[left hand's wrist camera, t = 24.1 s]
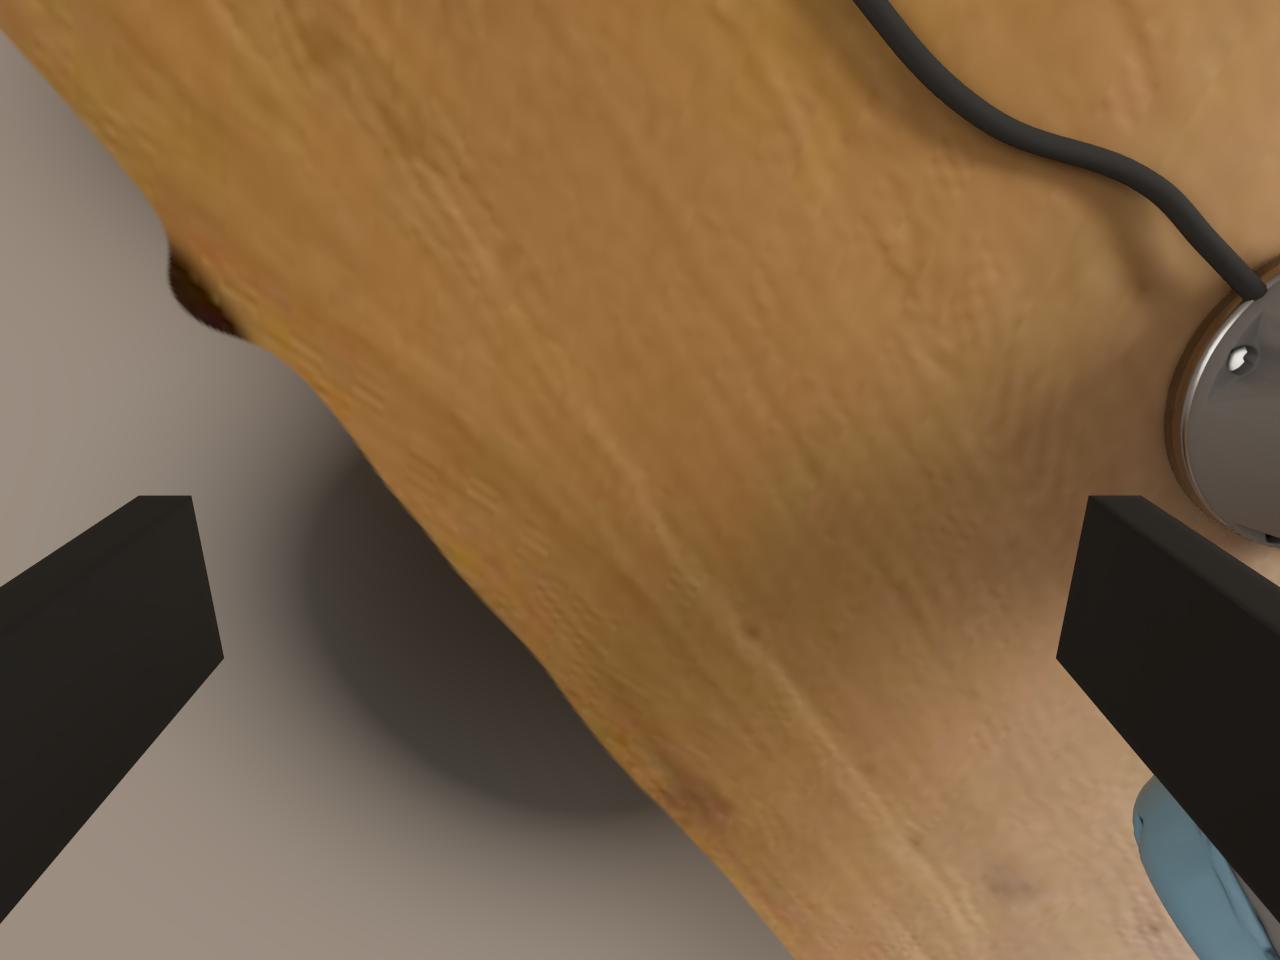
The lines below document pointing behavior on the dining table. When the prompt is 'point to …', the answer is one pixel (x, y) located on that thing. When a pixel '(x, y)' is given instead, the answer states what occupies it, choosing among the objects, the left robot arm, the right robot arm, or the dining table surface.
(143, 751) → the left robot arm
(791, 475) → the dining table surface
